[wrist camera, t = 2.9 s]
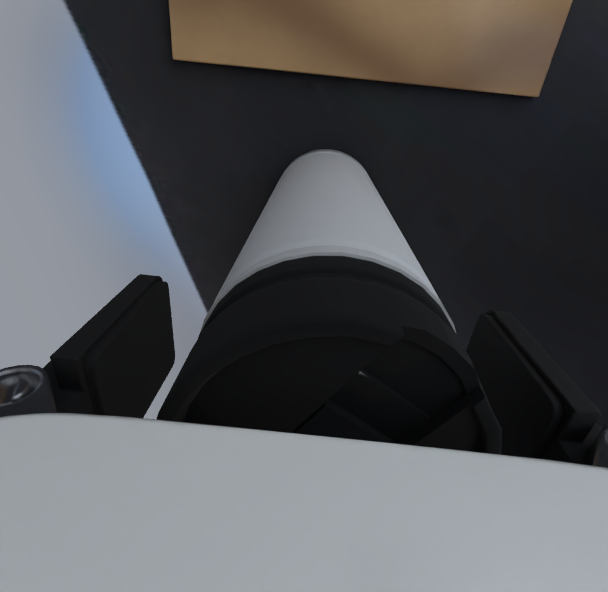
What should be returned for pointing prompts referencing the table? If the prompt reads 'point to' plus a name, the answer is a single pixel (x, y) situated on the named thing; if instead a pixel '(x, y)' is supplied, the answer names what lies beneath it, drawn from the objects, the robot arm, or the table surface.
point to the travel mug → (332, 327)
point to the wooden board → (379, 39)
